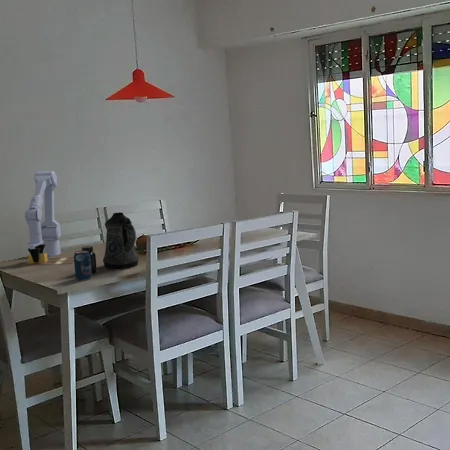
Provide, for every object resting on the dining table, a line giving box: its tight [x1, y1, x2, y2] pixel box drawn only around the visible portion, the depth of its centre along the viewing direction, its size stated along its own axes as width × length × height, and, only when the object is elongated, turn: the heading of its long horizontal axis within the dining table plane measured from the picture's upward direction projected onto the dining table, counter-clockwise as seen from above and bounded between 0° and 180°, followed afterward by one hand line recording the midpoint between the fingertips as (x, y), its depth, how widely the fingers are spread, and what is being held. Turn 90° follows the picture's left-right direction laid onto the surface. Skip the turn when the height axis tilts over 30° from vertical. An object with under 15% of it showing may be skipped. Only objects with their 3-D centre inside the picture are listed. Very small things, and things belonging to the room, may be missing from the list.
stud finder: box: [27, 252, 48, 264], centre depth 298 cm, size 4×8×4 cm, turn 91°
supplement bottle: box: [81, 245, 98, 275], centre depth 274 cm, size 7×7×12 cm
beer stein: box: [102, 212, 140, 271], centre depth 283 cm, size 16×19×25 cm
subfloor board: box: [21, 256, 74, 267], centre depth 299 cm, size 16×24×1 cm, turn 90°
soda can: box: [73, 249, 93, 281], centre depth 263 cm, size 7×7×12 cm
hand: (38, 260), depth 298 cm, fingers open, 6 cm apart
